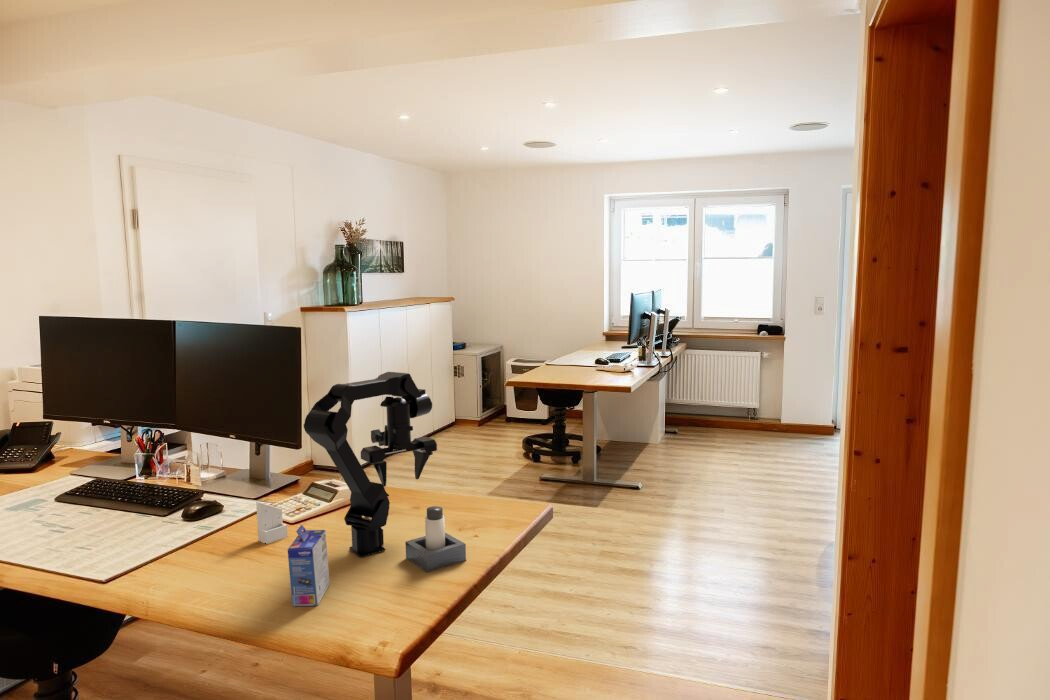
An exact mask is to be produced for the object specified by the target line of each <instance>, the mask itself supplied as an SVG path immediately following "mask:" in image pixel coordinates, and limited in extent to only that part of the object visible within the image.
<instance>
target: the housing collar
mask: <svg viewBox="0 0 1050 700" xmlns="http://www.w3.org/2000/svg"><path fill="white" fill-rule="evenodd" d="M466 551H467V549H466V543H465V542H463V541H462V540H460V539H458V538H456V537H454V536H452V535H450V534H449V533H447V532H445V547H443V548H439V549H436V550H433V551H428V550H427V549H426V535H425V536H420V537H417V538H414V539H410V540H407V541H405V558H406V559H407V560H408V561H409V562H411V563H413V564H414V565H415V566H417V567H419V568H420V569H422V570H423V571H425V573H431V572H434V571H437V570H441V569H444V568H447V567H451V566H453V565H456V564H460V563H462V562H466V561H467V553H466Z"/></svg>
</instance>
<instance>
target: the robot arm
mask: <svg viewBox="0 0 1050 700" xmlns="http://www.w3.org/2000/svg"><path fill="white" fill-rule="evenodd" d="M385 395H386V396H385ZM380 396H385V398H384V400H383V401H381V402H380V404H379V406H380V407H384V408H386V424H385V425H384V431H381V429H380V428H378V429H373V430H370V439H371V440H370V441H371V443H372V444H376V443H377V444H378V445H371V446H366V447H363V448H362V449H361V450H360V459H361V460H363V461H365V462H366V463H368V464H371V465H372V466H373V467H374V469H375V471H376V473H377V475H378V478H379V481H380V482H381V483H379V482H374V481H371V479H369V477H368V476H367V473H366V472H365V470H364V468H363V467H362V464H361V463H360V460H359V459H358V457H357V456H356V454H355V452H354V451H353V449H352V447H351V445H350V443H349V442H348V440H347V437H348V432H349V431H348V430H349V429H348V427H347V423H348V422H349V420H350V418H351V417H352V406H353V403H354V402H355V401H358V400H364V399H370V398H373V397H374V398H375V397H380ZM338 403H340V407H339V409H338V410H337V411H331V409H332V408H334V407H335V406H337V404H338ZM432 409H433V401H432V400H431V397H430V396H429V395H428V394H427V393H426V389H421V388H418V387H417V385H416V383H415V381H414V379H413V378H412V376H411V373H408V372H395V371H386V372H384V373H382V374H379V375H378V376H377V377H376V378H374V379H372V378H371V379H367V380H360V381H355V382H354V381H353V382H348V383H336V384H334V385H332V387H330V389H329V390H328V392H327V393H326V394H325V395H324V396H322V397H321V398H320V399H319V400H318V401H316V402H315V403H314V405H313V406H312V408H311V409H310V411H309V412H308V413H307V414H306V417H305V419H304V423H303V429H304V431H305V433H306V434H307V435H308V436H309V437H310V439H311V440H312V441H314V443H316V444H318V445H319V446H321V447H322V448H324V449H325V450H326V452H327V454H328V456H329V457H330V459H331V460H332V462H333V463H334V466H335V467H336V468H337V470H338V472H339V474H340V476H341V477H342V480H344V482H345V484H346V485H347V488H348V489H349V491H350V495H349V496H350V497H349V502H350V507H349V508H348V510H347V512H346V514H345V516H344V518H343V520H344V522H345V525H346V526H350V527H351V546H350V547H349V549H348V550H350V551H351V553H354V554H355V555H356V556H358V557H359V558H364V557H368V556H370V555H375V554H377V553H381V552H385V551H386V548H385V547H384V544H385V542H384V529H383V527H385V526H386V525H387V523H388V522H387V521H388V517H389V511H390V499H389V497H390V494H389V493H387V491H386V487H387V471H388V469H387V466H388V465H387V464H388V461H385V458H386V456H392V455H397V454H403V453H407V452H412V453H413V456H414V476H415V477H414V478H415V480H419V479H420V477H421V474H422V473H423V470H424V467H425V465H426V464H427V462H428V460H429V458H430V457H431V456H432V455H434V454H433V453H434V452H437V451H438V443H437V441H436V440H435V439H434V438H430V437H429V436H422V437H421V436H420V437H416V438H413V440H412V435H411V434H412V433H411V431H414V426H413V425H411V419H415V418H417V417H421V416H424V415H427V414H429V413H431V411H432ZM382 446H384V448H383V447H382ZM365 516H366V517H369V518H366V517H365Z"/></svg>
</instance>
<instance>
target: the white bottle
mask: <svg viewBox="0 0 1050 700" xmlns="http://www.w3.org/2000/svg"><path fill="white" fill-rule="evenodd" d="M443 511H444V510H443V507H441V506H438V505H435V506H429V507H426V516H425V517H424V523H425V525H424V526H425V527H424V529H425V536H426V549H427V550H428V551H433V550H436V549H439V548H443V547H445V533H446V526H445V524H446V523H445V522H446V520H445V515H443V514H444V512H443Z"/></svg>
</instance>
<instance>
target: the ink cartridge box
mask: <svg viewBox="0 0 1050 700" xmlns="http://www.w3.org/2000/svg"><path fill="white" fill-rule="evenodd" d="M326 532H327V531H326V530H325V529H311V530H310V529H309V530H307V529H306V528H305V527H304V525H303V524H301V525H300V526H299V527H298V528H297V530H296V534H297V536H296V538H295V539H294V540H293V542H292V543H291V544H290V545H289V547H288V548H287V557H288V558H287V559H288V560H287V562H288V571H289V581H290V582H289V583H290V592H291V601H292V606H293V607H316V606H318V605H319V604H320V602H321V600H322V599H323V596H324V595H325V593H326V591H327V589H328V587H329V586H330V573H329V572H330V571H329V562H328V560H329V557H328V547H327V546H328V545H327V534H326Z"/></svg>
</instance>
